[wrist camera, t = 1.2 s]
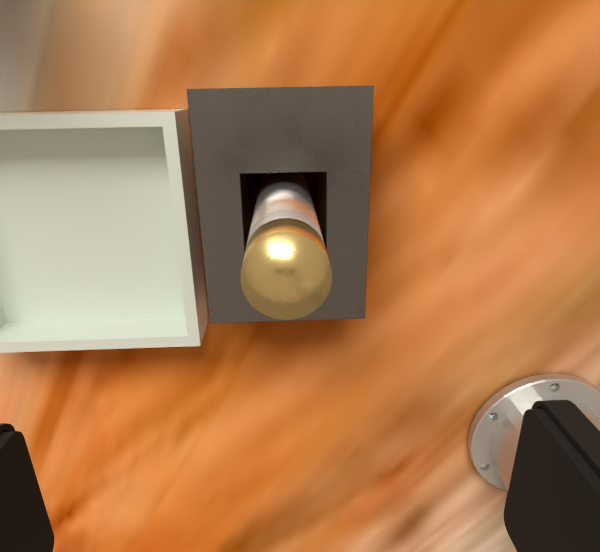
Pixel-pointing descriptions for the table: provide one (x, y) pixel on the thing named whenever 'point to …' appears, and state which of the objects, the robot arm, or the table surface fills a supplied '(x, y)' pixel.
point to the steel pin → (285, 251)
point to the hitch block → (276, 159)
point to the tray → (99, 232)
